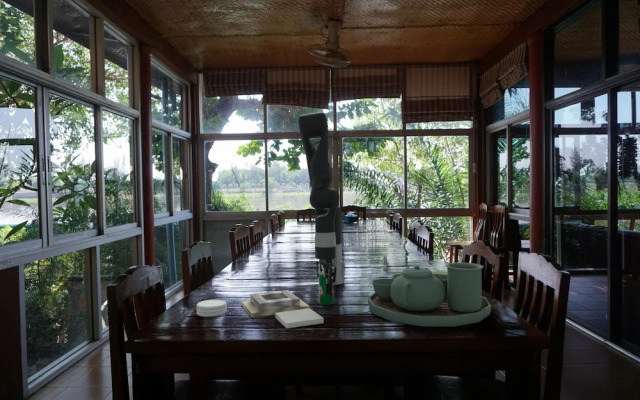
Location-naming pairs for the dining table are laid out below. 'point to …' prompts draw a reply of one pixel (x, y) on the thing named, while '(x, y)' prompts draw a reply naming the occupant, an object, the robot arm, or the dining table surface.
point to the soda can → (324, 292)
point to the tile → (298, 318)
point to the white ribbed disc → (211, 308)
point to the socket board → (269, 312)
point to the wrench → (385, 262)
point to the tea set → (432, 296)
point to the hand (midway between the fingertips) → (326, 292)
